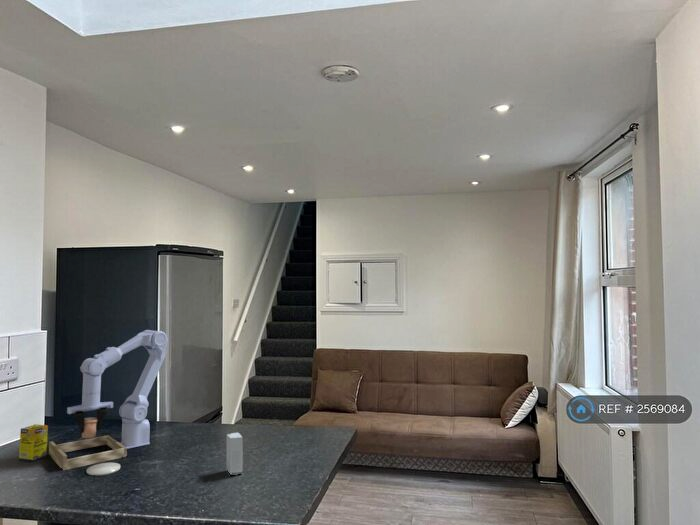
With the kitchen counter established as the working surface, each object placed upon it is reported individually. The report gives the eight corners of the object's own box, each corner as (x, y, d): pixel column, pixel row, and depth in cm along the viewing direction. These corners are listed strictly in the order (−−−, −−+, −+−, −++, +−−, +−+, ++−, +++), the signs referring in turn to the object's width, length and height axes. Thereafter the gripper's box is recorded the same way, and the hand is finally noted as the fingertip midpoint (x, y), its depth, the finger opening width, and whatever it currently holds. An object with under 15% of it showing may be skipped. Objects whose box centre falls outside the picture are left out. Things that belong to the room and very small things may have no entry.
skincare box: (243, 474, 158) (244, 436, 159) (229, 476, 156) (230, 438, 157) (238, 468, 164) (239, 431, 165) (225, 470, 162) (226, 433, 163)
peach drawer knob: (94, 433, 177) (95, 416, 177) (98, 437, 173) (100, 419, 173) (79, 435, 173) (80, 418, 174) (82, 439, 170) (84, 421, 170)
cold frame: (108, 443, 188) (108, 431, 188) (126, 456, 173) (127, 443, 174) (48, 454, 174) (49, 441, 174) (63, 470, 160) (63, 456, 160)
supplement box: (32, 462, 166) (34, 429, 167) (18, 460, 168) (19, 428, 168) (47, 456, 172) (48, 425, 173) (32, 455, 173) (34, 423, 174)
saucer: (114, 462, 168) (114, 460, 168) (124, 470, 160) (124, 468, 160) (82, 469, 161) (82, 467, 161) (91, 478, 154) (91, 476, 154)
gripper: (71, 397, 166) (69, 437, 165) (116, 391, 176) (114, 429, 175) (66, 393, 171) (64, 432, 171) (110, 388, 181) (108, 425, 180)
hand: (89, 431), depth 173 cm, fingers closed on peach drawer knob, 5 cm apart
